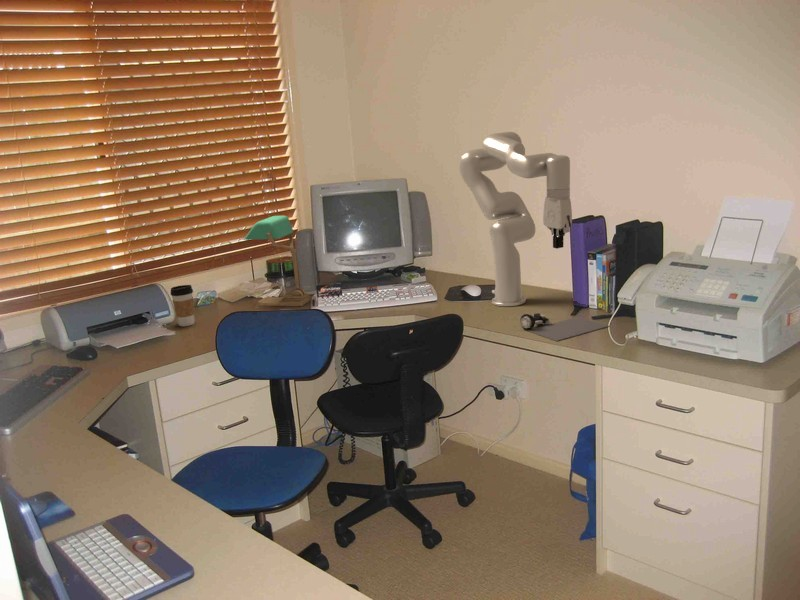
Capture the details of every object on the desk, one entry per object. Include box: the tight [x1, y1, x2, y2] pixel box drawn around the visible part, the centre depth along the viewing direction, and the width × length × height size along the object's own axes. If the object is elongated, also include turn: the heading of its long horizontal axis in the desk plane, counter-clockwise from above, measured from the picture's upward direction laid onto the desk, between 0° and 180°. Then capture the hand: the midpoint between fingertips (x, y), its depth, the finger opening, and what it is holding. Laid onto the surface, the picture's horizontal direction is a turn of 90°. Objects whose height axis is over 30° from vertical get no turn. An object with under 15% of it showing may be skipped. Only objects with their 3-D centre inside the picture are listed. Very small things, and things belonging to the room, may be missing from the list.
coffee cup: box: [169, 284, 196, 327], centre depth 297 cm, size 8×8×15 cm
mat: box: [527, 316, 610, 342], centre depth 255 cm, size 14×22×1 cm, turn 119°
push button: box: [519, 312, 553, 331], centre depth 259 cm, size 7×5×10 cm
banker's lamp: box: [243, 215, 311, 307], centre depth 314 cm, size 16×21×35 cm
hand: (558, 247), depth 262 cm, fingers closed
